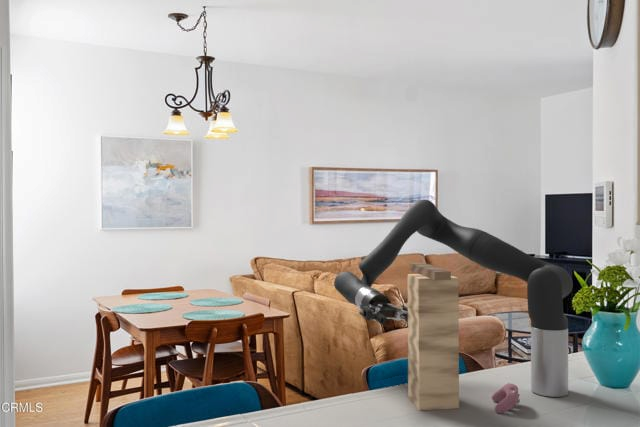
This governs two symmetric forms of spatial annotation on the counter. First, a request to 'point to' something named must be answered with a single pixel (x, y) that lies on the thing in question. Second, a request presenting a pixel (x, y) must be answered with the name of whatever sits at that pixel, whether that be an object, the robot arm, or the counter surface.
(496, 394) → the pink curved piece
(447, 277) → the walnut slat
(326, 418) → the counter surface
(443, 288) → the wooden block tower
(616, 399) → the counter surface
